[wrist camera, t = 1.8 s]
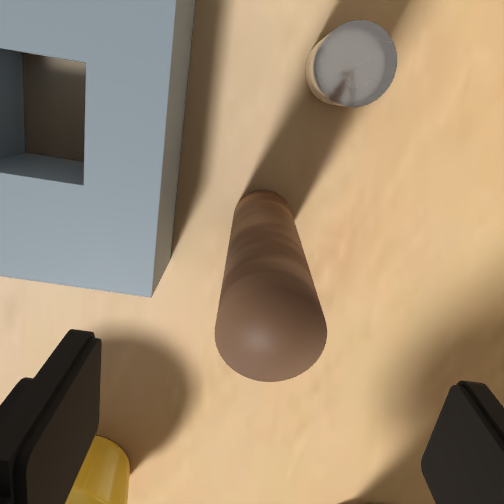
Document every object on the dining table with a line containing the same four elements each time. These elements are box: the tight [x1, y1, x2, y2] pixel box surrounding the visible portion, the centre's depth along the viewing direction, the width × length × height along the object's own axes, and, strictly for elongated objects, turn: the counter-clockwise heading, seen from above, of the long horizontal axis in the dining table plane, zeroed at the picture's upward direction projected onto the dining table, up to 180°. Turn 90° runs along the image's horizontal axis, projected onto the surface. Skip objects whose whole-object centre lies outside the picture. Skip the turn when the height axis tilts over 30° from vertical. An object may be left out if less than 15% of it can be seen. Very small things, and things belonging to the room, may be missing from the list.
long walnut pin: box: [215, 190, 327, 382], centre depth 22 cm, size 4×4×15 cm
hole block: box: [0, 0, 195, 298], centre depth 24 cm, size 14×18×6 cm
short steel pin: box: [305, 20, 397, 107], centre depth 24 cm, size 4×4×5 cm
